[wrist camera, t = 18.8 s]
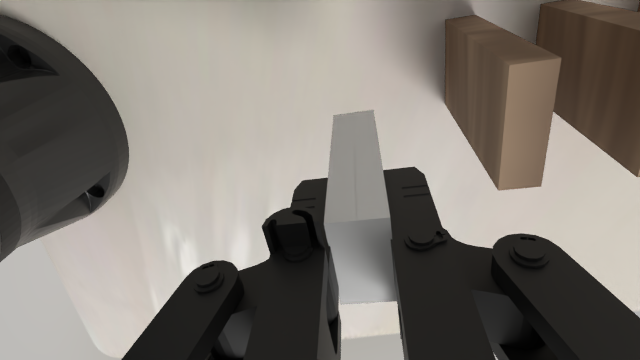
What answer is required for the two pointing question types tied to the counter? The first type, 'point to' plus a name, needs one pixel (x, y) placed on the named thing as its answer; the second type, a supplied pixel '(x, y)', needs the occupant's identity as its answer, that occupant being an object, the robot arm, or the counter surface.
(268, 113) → the counter surface
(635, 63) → the domino
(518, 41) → the domino
